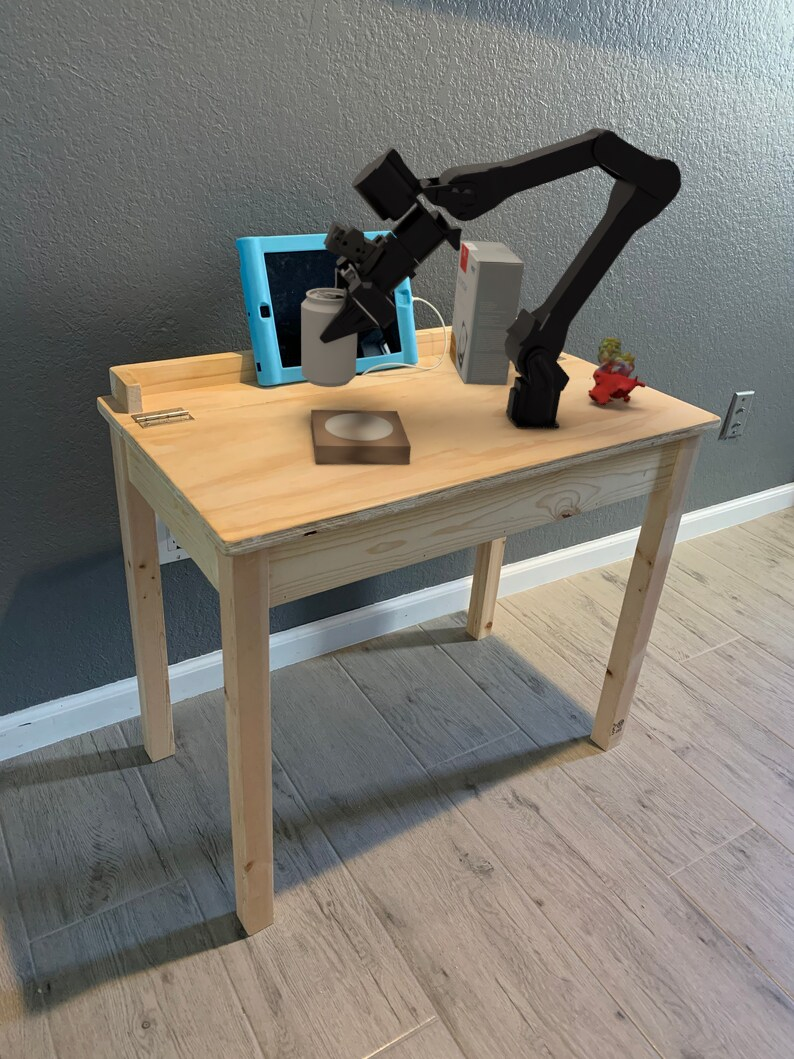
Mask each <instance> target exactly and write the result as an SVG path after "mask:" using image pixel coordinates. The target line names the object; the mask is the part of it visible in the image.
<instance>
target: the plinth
mask: <svg viewBox="0 0 794 1059" xmlns="http://www.w3.org/2000/svg"><path fill="white" fill-rule="evenodd" d="M310 430H311V436H312V438H311V439H312V445H313V452H314V453H313V454H314V459H315V460H314V461H315V464H316V465H410V461H411V459H410V458H411V451H412V450H411V448H412V447H411V446H412V445H411V443H410V441H409V438H408V435H407V433H406V430H405V427H404V425H403V423H402V420H401V417H400V415H399V412H398V410H368V409H367V410H360V409H359V410H358V409H356V410H355V409H354V410H353V409H351V410H350V409H311V410H310Z"/></svg>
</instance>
